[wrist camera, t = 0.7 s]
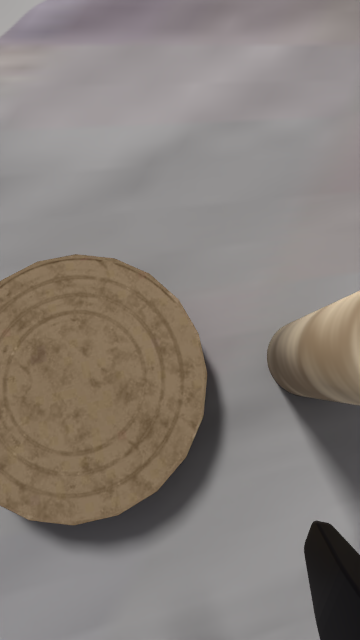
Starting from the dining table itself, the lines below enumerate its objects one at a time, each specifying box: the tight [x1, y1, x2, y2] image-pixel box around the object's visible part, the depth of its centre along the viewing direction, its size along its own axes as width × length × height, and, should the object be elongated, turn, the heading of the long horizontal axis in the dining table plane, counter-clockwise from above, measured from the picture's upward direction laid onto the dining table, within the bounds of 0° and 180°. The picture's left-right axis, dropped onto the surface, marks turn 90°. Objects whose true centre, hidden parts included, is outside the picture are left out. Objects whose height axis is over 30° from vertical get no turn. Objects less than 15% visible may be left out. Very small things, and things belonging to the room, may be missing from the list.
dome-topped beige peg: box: [267, 291, 360, 406], centre depth 16 cm, size 5×5×12 cm
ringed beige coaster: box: [0, 254, 207, 525], centre depth 21 cm, size 16×16×3 cm
